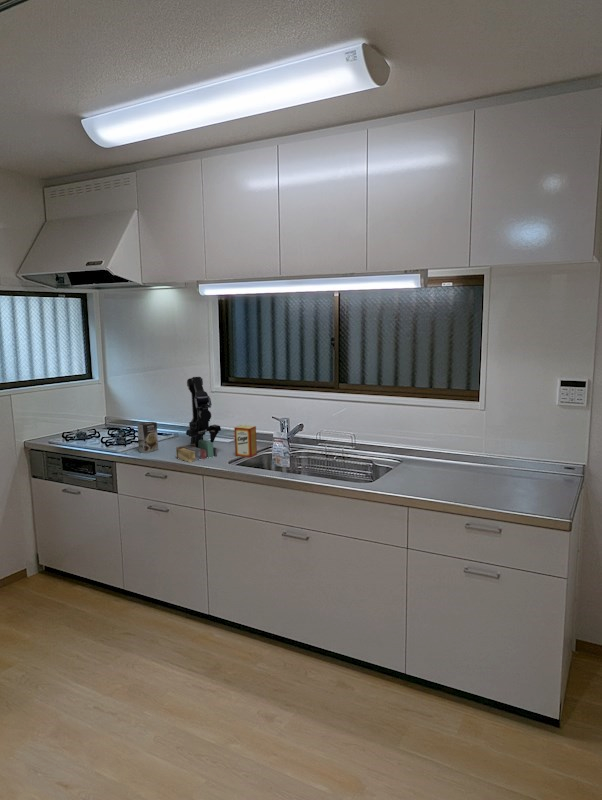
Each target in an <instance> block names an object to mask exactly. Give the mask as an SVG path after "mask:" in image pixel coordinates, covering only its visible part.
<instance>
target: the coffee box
mask: <svg viewBox="0 0 602 800" xmlns="http://www.w3.org/2000/svg"><path fill="white" fill-rule="evenodd" d="M158 436H159V435H158V423H157V421H156V422H155V421H147V422H141V423H137V440H138V441H137V442H138V452H139V453H143V454H148V453H152V452H155V451H159V439H158ZM151 451H152V452H151Z"/></svg>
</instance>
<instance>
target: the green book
mask: <svg viewBox="0 0 602 800" xmlns="http://www.w3.org/2000/svg"><path fill="white" fill-rule="evenodd" d="M213 447H214V442H210V441H209V440H205V439H203V440H199V445H198V448H200V449H203V450H206V457H208V458H207V459H210V458H209V457H211V458H214V457H215V456H214V453H213ZM196 448H197V447H196ZM213 456H214V457H213Z"/></svg>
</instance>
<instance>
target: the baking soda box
mask: <svg viewBox="0 0 602 800" xmlns="http://www.w3.org/2000/svg"><path fill="white" fill-rule="evenodd" d="M257 448H258V447H257V426H256V425H247V424H245V425H243V424H241V425H240V424H239V425H238V426H235V427H234V449H235V450H234V452H235V457H240V458H241V457H244V458H253V457H255V456H257V455H258V453H257V452H258V450H257Z"/></svg>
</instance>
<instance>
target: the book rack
mask: <svg viewBox="0 0 602 800" xmlns="http://www.w3.org/2000/svg"><path fill="white" fill-rule="evenodd" d="M175 449H176V451H175V452H176V459H177V458H179V459H178V460H180V459H182V460H181V461H183V460H185V461H184V462H186V461H188V462H187V463H189V462H190V463H193V462H192V461H194V462H196V461H195V460H198V461H200V460H199V459H203V460H205V459H204V458H207V457H206V450H203V449H200V448H196V445H195V444H191V443H190V444H187V445H183V446H177V447H176V448H175ZM213 453H214V457H217V456H218V453H217V447H214V446H213ZM207 459H208V458H207Z"/></svg>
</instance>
